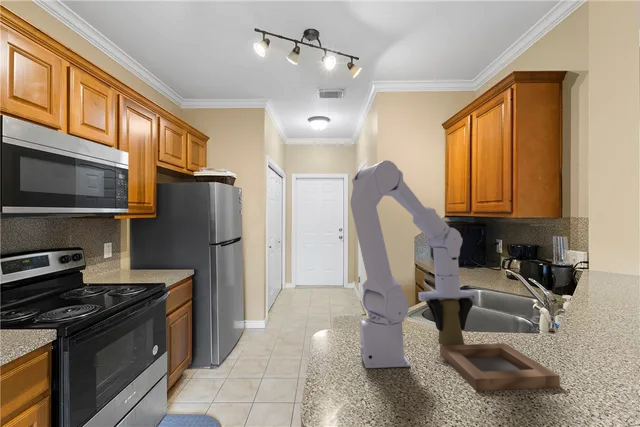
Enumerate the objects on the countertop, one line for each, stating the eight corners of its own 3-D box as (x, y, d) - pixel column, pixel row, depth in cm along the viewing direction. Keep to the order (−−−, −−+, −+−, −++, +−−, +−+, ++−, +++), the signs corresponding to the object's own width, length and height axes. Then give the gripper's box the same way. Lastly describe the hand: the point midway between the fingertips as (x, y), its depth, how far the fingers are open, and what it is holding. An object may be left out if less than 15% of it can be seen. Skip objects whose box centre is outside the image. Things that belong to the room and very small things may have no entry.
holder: (476, 390, 51) (475, 379, 51) (440, 354, 66) (439, 345, 66) (560, 387, 51) (559, 375, 51) (505, 352, 66) (504, 343, 66)
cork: (467, 348, 69) (464, 301, 70) (440, 347, 70) (438, 301, 71) (460, 338, 75) (457, 295, 76) (436, 338, 76) (433, 295, 77)
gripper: (466, 271, 78) (470, 322, 77) (413, 273, 78) (416, 325, 77) (481, 275, 71) (485, 332, 70) (422, 277, 70) (426, 334, 70)
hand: (450, 329), depth 73 cm, fingers closed on cork, 5 cm apart
